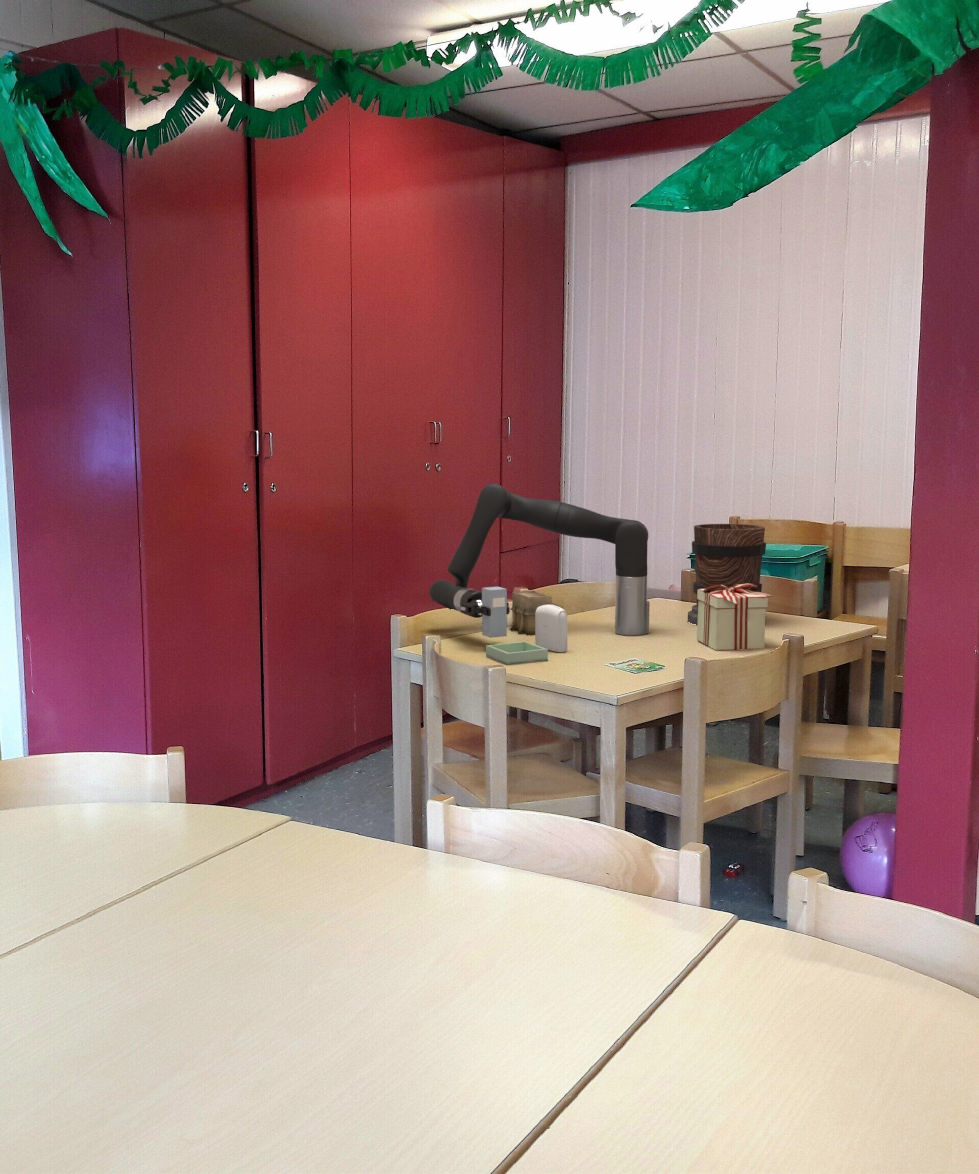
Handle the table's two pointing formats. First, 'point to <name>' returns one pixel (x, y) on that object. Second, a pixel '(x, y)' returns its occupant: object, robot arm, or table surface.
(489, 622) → the box
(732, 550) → the wooden barrel
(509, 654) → the tray
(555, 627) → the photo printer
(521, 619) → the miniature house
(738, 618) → the gift box
